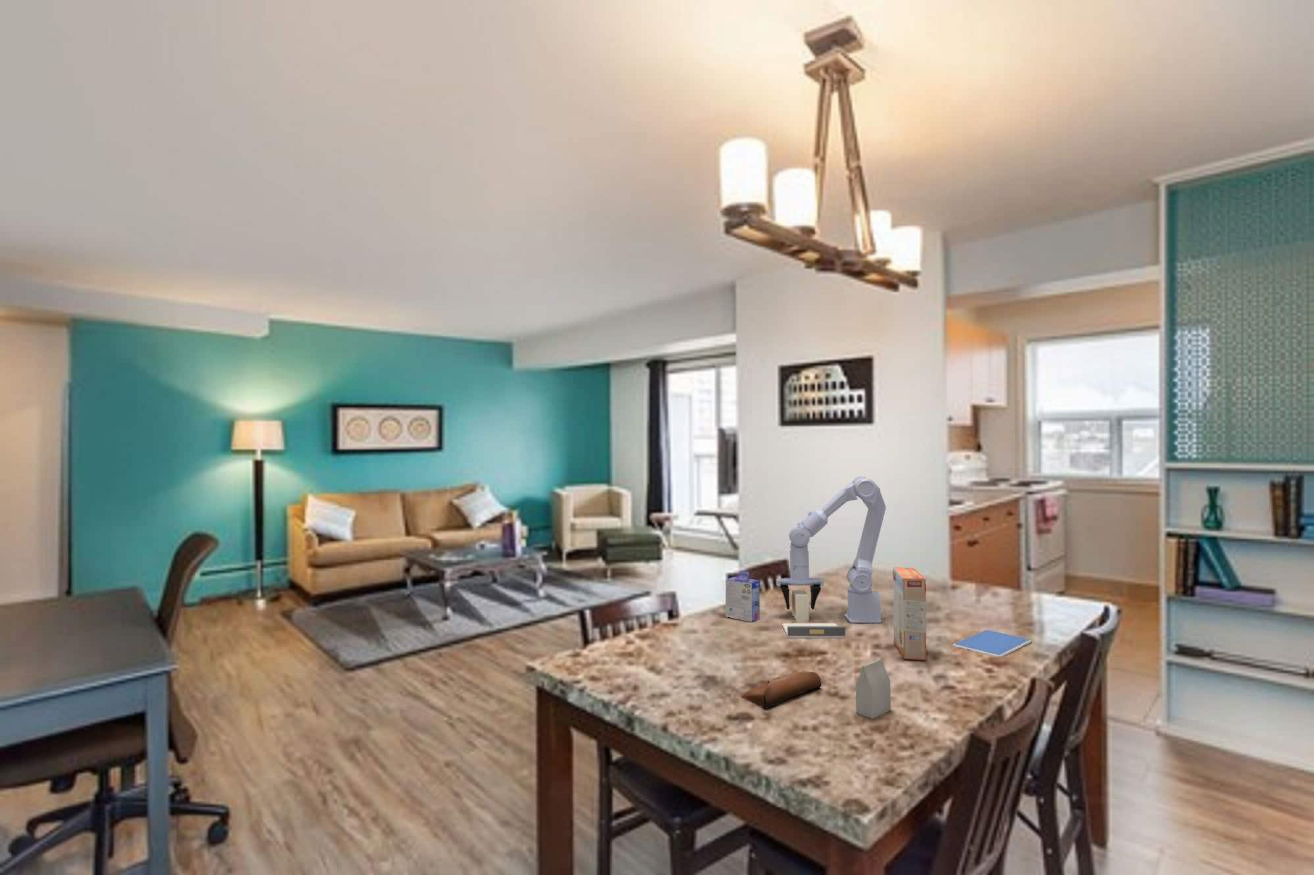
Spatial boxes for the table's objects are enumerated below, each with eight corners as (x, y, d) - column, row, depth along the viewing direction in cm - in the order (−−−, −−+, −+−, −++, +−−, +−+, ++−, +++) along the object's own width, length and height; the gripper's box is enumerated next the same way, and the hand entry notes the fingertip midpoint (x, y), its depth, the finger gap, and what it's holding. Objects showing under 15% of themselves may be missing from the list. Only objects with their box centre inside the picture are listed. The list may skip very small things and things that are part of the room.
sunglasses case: (793, 676, 146) (803, 656, 144) (813, 700, 142) (825, 679, 139) (738, 697, 136) (748, 675, 133) (758, 723, 131) (770, 701, 128)
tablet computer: (1000, 660, 157) (1000, 655, 157) (951, 648, 167) (951, 643, 167) (1033, 644, 168) (1032, 639, 168) (985, 633, 178) (985, 628, 178)
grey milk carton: (890, 709, 128) (889, 661, 128) (872, 718, 124) (871, 669, 124) (874, 703, 131) (874, 656, 131) (856, 712, 127) (855, 664, 127)
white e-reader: (835, 625, 186) (835, 615, 186) (845, 638, 174) (845, 627, 174) (781, 625, 187) (781, 615, 187) (788, 638, 175) (788, 627, 175)
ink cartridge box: (761, 618, 195) (760, 572, 195) (752, 622, 191) (751, 575, 191) (733, 613, 201) (733, 568, 201) (725, 617, 196) (724, 572, 197)
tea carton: (804, 614, 198) (804, 589, 198) (809, 621, 191) (808, 595, 191) (791, 614, 198) (791, 589, 198) (795, 621, 191) (795, 595, 191)
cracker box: (928, 661, 155) (926, 578, 155) (902, 660, 156) (901, 577, 156) (916, 643, 169) (915, 566, 169) (893, 642, 170) (891, 566, 170)
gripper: (820, 562, 198) (820, 605, 198) (774, 563, 199) (775, 605, 199) (824, 567, 191) (825, 611, 191) (777, 567, 192) (778, 611, 192)
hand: (800, 608), depth 195 cm, fingers open, 7 cm apart
